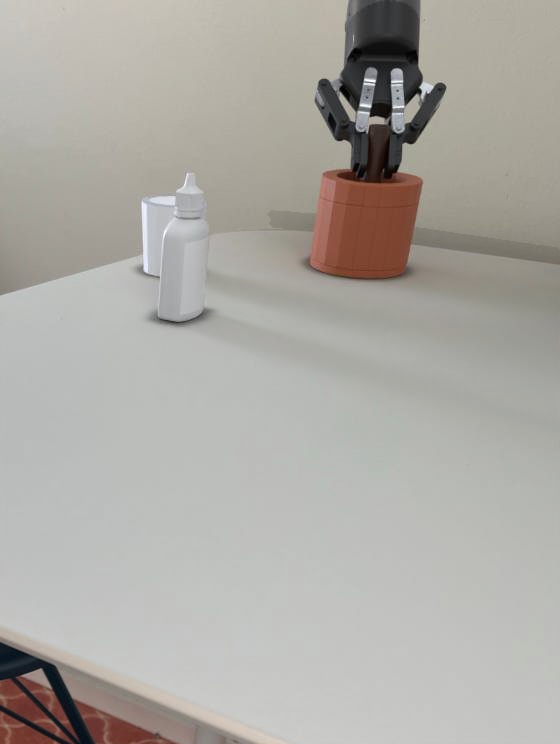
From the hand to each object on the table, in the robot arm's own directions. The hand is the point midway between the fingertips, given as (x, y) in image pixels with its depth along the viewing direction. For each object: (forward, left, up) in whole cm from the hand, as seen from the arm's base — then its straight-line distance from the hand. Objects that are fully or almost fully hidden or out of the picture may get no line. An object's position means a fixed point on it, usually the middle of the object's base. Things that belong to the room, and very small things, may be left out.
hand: (375, 172), depth 101 cm
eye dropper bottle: (+23, +15, -10) cm, 29 cm away
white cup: (+21, -1, -10) cm, 23 cm away
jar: (0, -2, -10) cm, 10 cm away
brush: (0, -2, -9) cm, 9 cm away
